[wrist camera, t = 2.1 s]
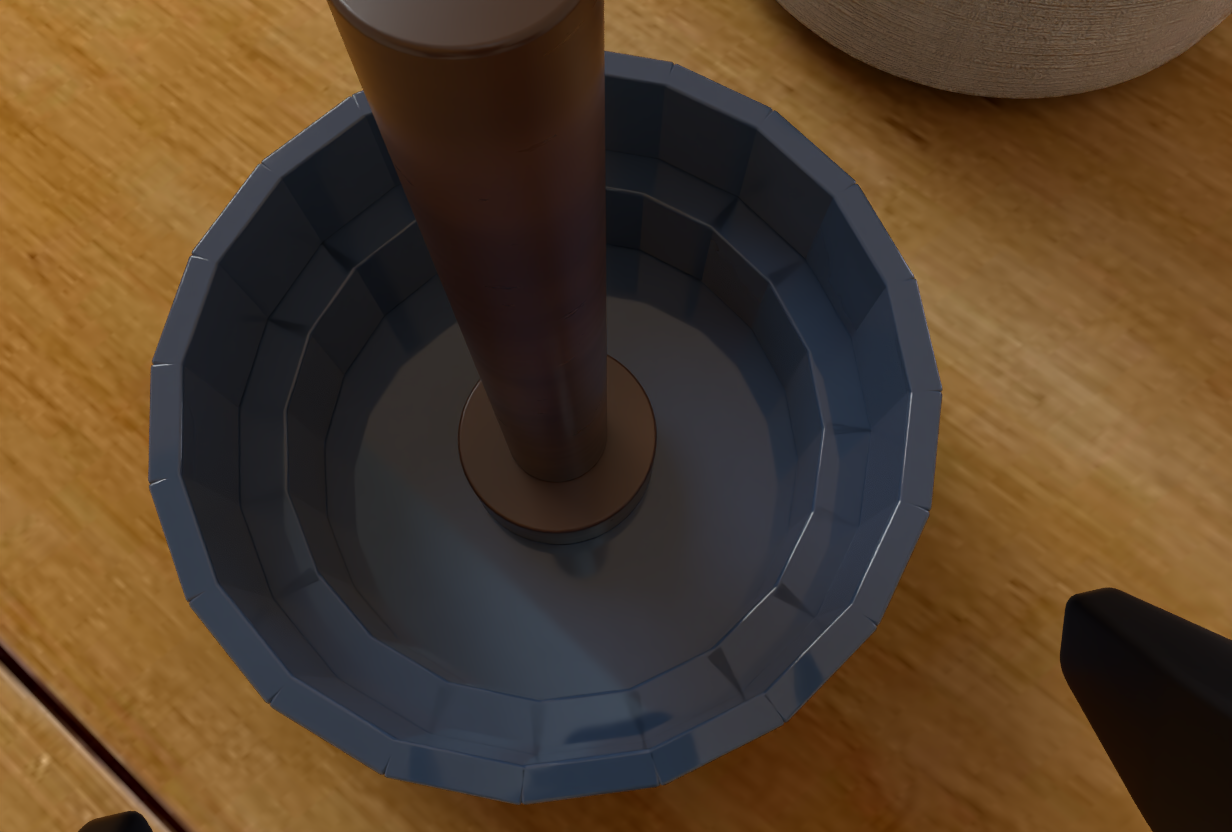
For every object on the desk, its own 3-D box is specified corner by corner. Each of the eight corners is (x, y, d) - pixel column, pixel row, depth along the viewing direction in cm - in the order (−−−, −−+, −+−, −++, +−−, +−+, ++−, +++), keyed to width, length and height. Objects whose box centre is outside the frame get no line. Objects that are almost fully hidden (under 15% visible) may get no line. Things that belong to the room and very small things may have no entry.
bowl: (946, 352, 23) (1057, 240, 18) (685, 898, 20) (716, 982, 14) (466, 114, 25) (424, -57, 19) (146, 573, 22) (-21, 528, 16)
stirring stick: (686, 417, 22) (846, -157, 7) (596, 579, 21) (565, 296, 6) (528, 334, 23) (373, -356, 8) (432, 487, 22) (37, 24, 7)
